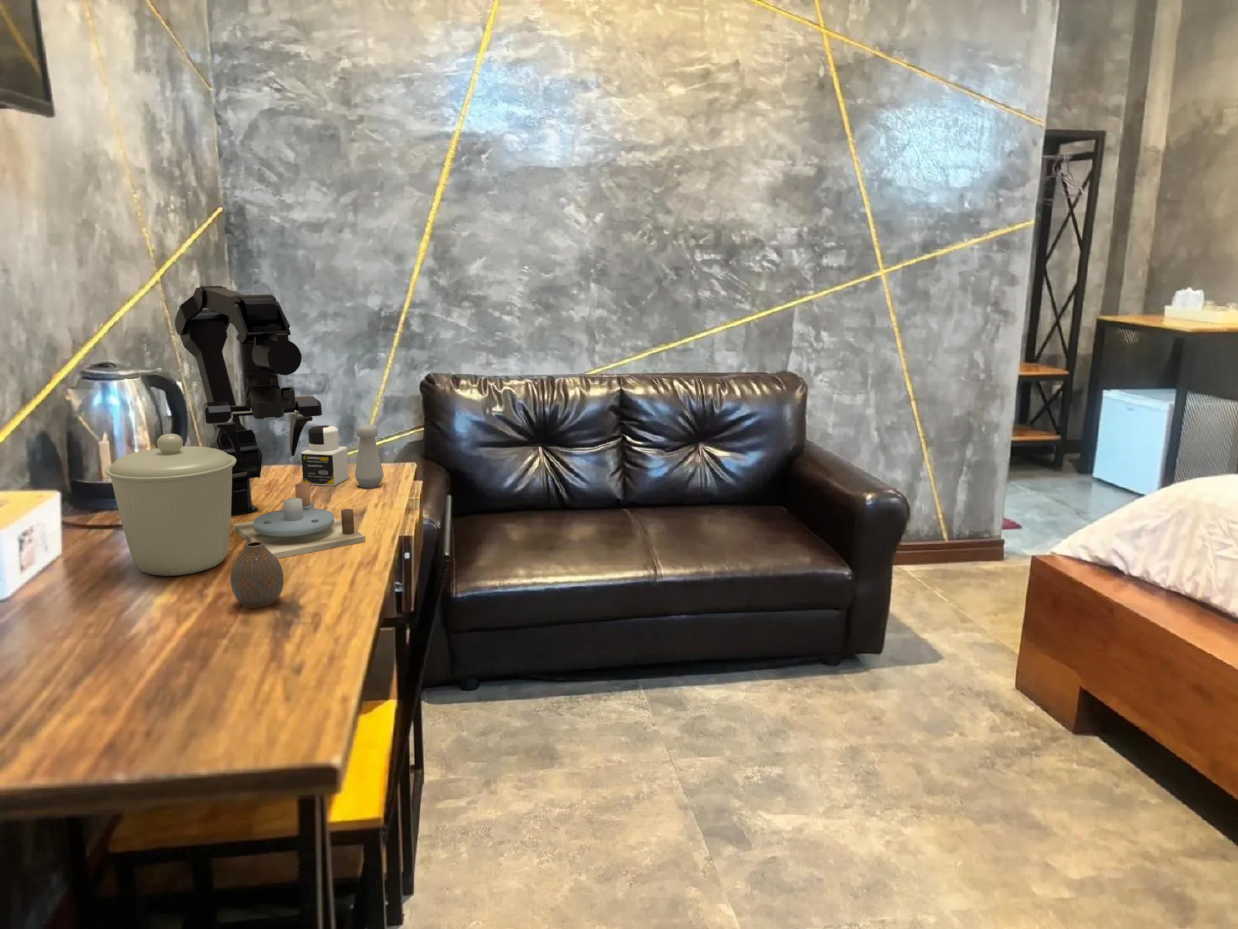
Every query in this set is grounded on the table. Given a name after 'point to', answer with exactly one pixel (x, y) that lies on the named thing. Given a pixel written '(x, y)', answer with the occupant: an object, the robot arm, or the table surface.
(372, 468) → the salt shaker
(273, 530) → the flange plate
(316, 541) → the board
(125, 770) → the table surface
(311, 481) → the medicine bottle
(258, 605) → the vase
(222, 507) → the canister
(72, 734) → the table surface
